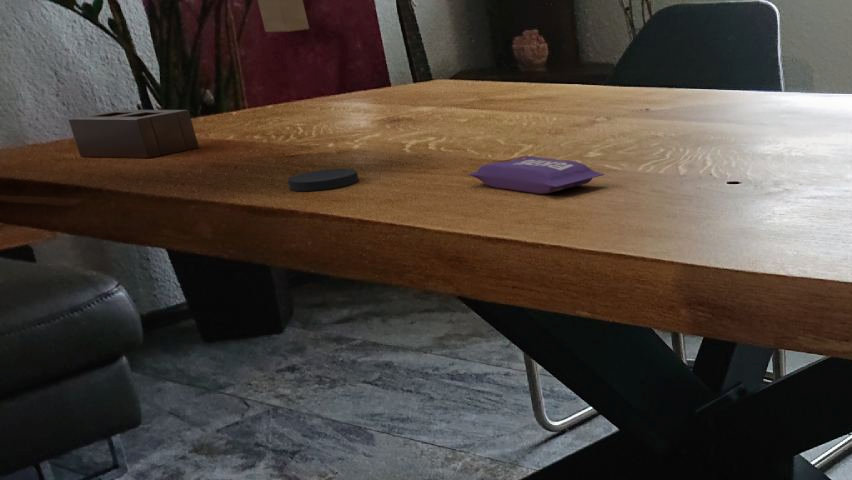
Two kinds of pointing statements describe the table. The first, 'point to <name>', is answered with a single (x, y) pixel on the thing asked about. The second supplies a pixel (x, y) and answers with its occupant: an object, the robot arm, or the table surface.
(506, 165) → the snack package
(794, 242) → the table surface
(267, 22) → the green and tan bar
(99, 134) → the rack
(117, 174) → the table surface
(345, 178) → the coaster
